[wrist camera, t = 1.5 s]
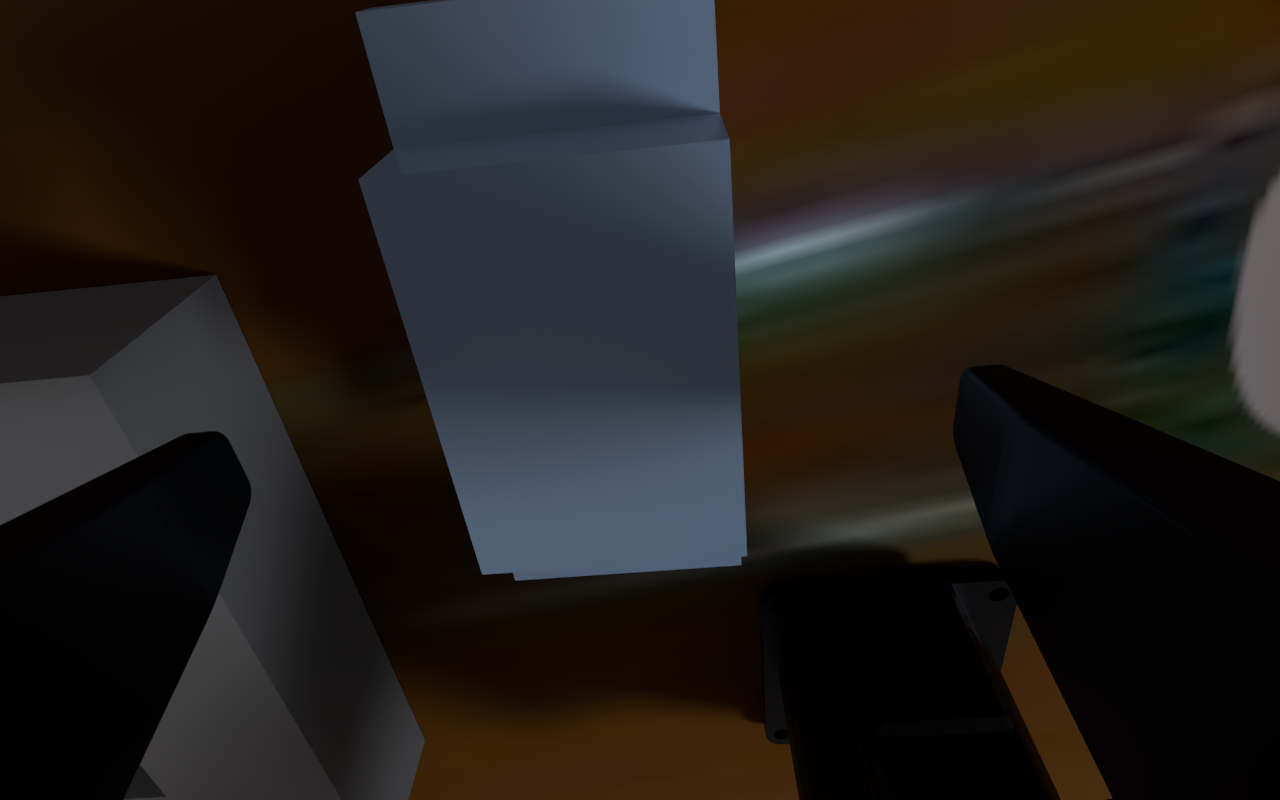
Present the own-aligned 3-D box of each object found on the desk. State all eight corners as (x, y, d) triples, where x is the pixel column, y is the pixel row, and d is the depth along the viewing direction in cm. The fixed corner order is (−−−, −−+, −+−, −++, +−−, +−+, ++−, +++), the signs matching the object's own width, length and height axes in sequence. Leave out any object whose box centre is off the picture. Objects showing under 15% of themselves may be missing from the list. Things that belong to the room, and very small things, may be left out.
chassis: (424, 740, 24) (386, 876, 20) (14, 762, 24) (-87, 895, 21) (216, 274, 15) (89, 375, 12) (-401, 337, 16) (-684, 446, 13)
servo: (720, 414, 17) (750, 625, 12) (546, 428, 17) (502, 640, 12) (692, -53, 12) (722, -39, 7) (449, -22, 12) (306, 14, 7)
